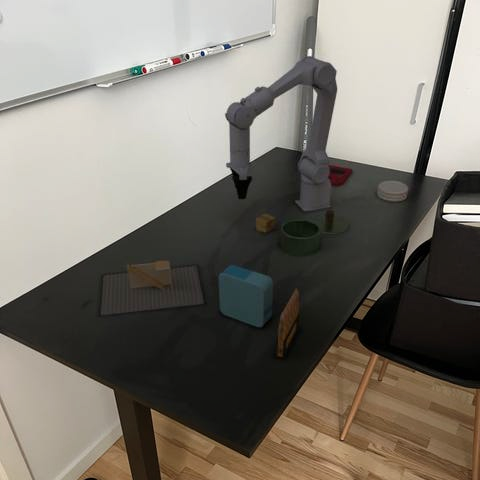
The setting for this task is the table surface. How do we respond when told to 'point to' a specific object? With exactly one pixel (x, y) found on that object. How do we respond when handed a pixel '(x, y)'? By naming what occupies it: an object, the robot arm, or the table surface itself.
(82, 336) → the table surface
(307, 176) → the robot arm
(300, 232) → the bowl
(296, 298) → the brown wooden panel
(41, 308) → the table surface
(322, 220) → the lid
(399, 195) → the coaster
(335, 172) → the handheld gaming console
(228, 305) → the data package
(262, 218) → the block
